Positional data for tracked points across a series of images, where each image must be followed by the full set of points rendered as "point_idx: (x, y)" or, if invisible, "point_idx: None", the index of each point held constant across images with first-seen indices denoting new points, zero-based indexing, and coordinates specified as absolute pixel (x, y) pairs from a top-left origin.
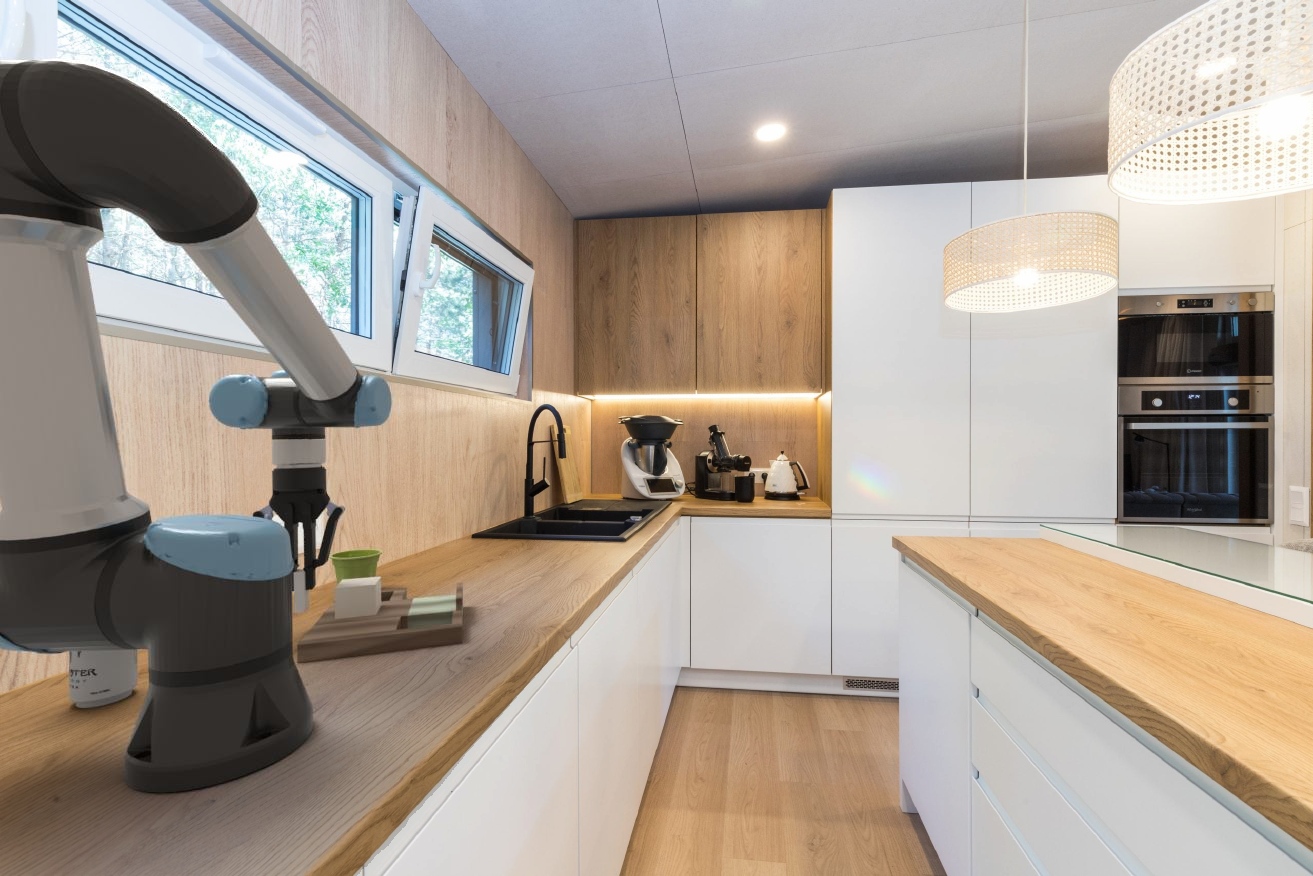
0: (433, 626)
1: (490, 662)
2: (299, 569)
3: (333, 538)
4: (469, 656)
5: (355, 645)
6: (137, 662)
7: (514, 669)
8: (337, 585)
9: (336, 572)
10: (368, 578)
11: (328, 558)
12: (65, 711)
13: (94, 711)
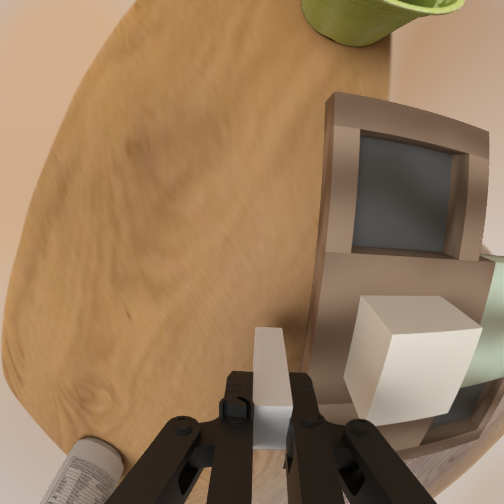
0: (458, 437)
1: (457, 466)
2: (258, 410)
3: (425, 495)
4: (454, 456)
5: None
6: (110, 474)
7: (461, 475)
8: (372, 404)
9: None
10: (455, 344)
11: (377, 431)
12: None
13: None
